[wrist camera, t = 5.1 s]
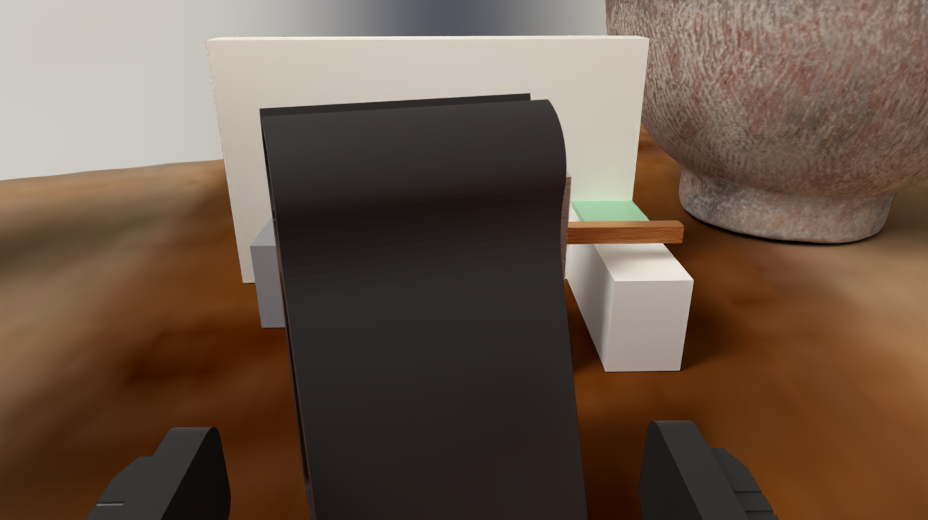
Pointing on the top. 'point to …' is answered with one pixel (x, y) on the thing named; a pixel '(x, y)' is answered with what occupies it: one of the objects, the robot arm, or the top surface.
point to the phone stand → (427, 307)
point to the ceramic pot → (786, 108)
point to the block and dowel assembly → (613, 230)
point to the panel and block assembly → (462, 75)
